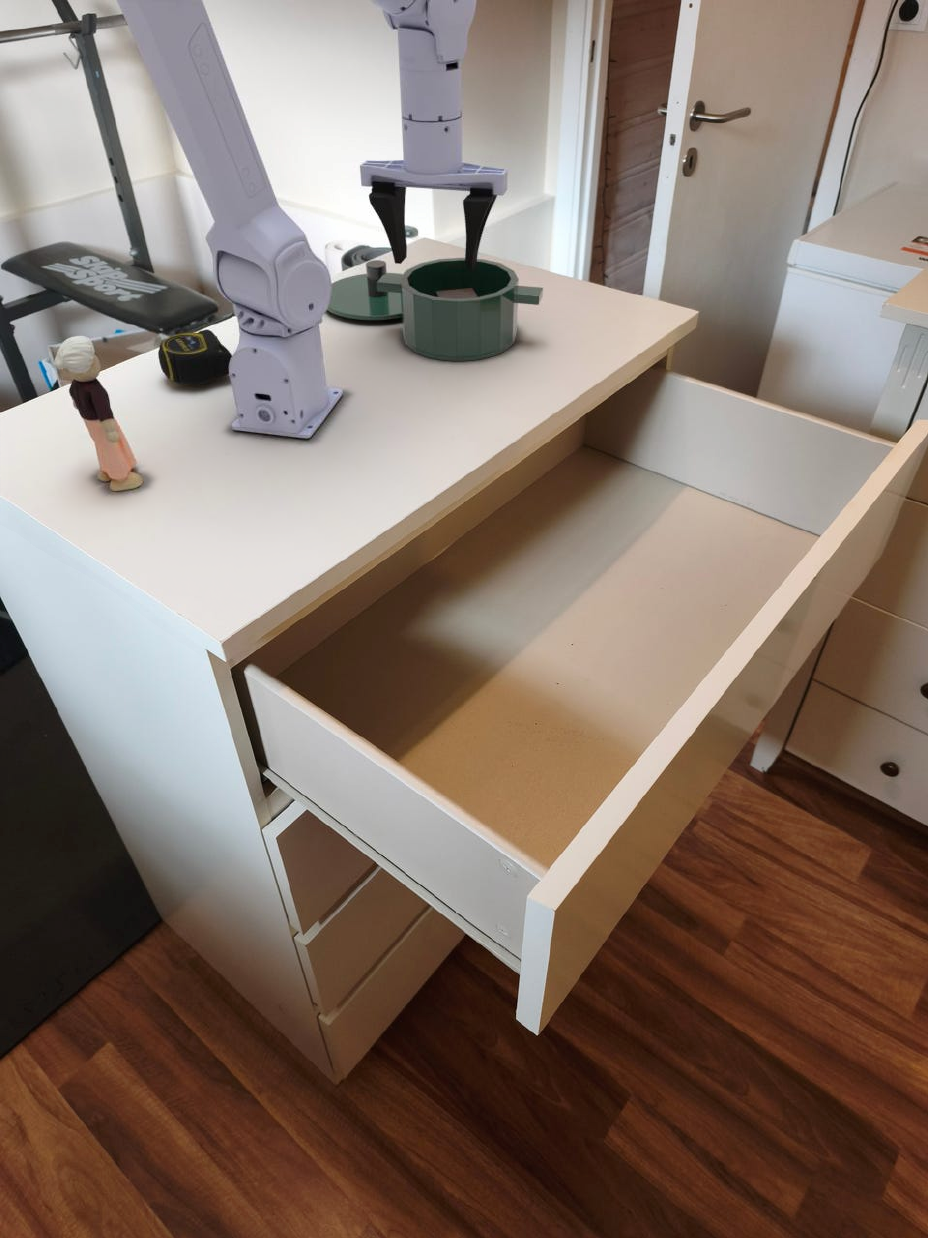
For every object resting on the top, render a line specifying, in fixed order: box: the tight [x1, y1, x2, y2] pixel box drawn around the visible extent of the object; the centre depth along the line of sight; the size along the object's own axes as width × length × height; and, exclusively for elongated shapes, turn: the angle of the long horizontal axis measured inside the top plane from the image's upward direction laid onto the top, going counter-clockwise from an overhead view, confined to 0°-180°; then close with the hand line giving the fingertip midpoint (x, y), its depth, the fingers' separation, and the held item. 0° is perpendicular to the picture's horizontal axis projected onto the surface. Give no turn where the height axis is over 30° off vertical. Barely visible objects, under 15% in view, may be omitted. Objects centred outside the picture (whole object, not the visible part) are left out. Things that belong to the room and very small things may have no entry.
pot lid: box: [326, 259, 404, 321], centre depth 102 cm, size 14×14×5 cm
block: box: [435, 288, 478, 299], centre depth 94 cm, size 4×4×4 cm
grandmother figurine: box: [53, 335, 144, 492], centre depth 70 cm, size 8×4×13 cm, turn 52°
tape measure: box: [157, 329, 233, 386], centre depth 88 cm, size 7×7×4 cm
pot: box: [377, 257, 544, 362], centre depth 94 cm, size 13×18×6 cm
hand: (435, 263), depth 89 cm, fingers open, 7 cm apart
